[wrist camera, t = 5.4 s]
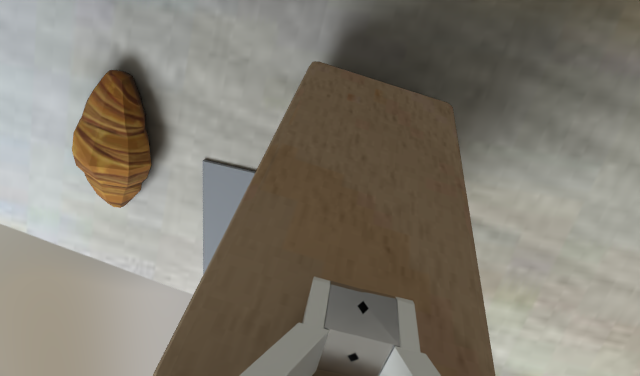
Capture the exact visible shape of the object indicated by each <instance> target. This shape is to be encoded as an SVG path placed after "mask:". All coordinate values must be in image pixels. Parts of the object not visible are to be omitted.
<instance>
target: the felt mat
mask: <svg viewBox="0 0 640 376" xmlns="http://www.w3.org/2000/svg"><path fill="white" fill-rule="evenodd" d="M254 174H255V171H251V170H247V169H242V168H238V167H234V166H229V165H225V164H221V163H217V162H212V161H208V160H203V274H204V273H205V271H206V269H207V267H208V265H209V263H210V261H211V259H212V257H213V255H214V253H215V251H216V249H217V247H218V245H219V243H220V241H221V240H222V238H223V236H224V234H225V232H226V230H227V228H228V226H229V224H230V222H231V220H232V218H233V216H234V214H235V212H236V210H237V208H238V206H239V204H240V202H241V200H242V198H243V196H244V194H245V192H246V190H247V188H248V186H249V184H250V182H251V180H252V178H253V176H254Z"/></svg>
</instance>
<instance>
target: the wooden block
mask: <svg viewBox="0 0 640 376" xmlns="http://www.w3.org/2000/svg"><path fill="white" fill-rule="evenodd" d="M314 277H318V278H322V279H325V280H329V281H334V282H338V283H341V284H345V285H349V286H352V287H356V288H360V289H365V290H370V291H374V292H378V293H383V294H387V295H391V296H395V297H399V298H403V299H408V300H412V301H413V302H414V304H415V312H416V320H417V328H418V336H419V344H420V352H421V353H424V354H426V355H427V356H428V358H429V359H430V361H431V362H432V363H433V365H434V366H435V368H436V369H437V371H438V372H439V373H440V375H441V376H495V370H494V364H493V358H492V351H491V345H490V339H489V333H488V326H487V320H486V314H485V307H484V301H483V295H482V289H481V282H480V276H479V270H478V263H477V257H476V251H475V244H474V238H473V232H472V226H471V219H470V213H469V207H468V200H467V194H466V188H465V182H464V175H463V169H462V163H461V156H460V150H459V144H458V137H457V131H456V125H455V119H454V112H453V107H452V106H451V105H450V104H449V103H447V102H443V101H440V100H437V99H434V98H431V97H428V96H425V95H421V94H418V93H415V92H412V91H409V90H406V89H403V88H400V87H396V86H393V85H390V84H387V83H384V82H381V81H378V80H375V79H371V78H368V77H365V76H362V75H359V74H356V73H353V72H350V71H346V70H343V69H340V68H337V67H334V66H331V65H328V64H324V63H321V62H312V63H311V65H310V66H309V68H308V70H307V72H306V74H305V76H304V78H303V80H302V82H301V84H300V86H299V87H298V89H297V91H296V93H295V95H294V97H293V99H292V101H291V103H290V105H289V107H288V109H287V111H286V113H285V115H284V117H283V119H282V121H281V123H280V125H279V127H278V129H277V131H276V133H275V135H274V137H273V139H272V141H271V143H270V145H269V147H268V149H267V151H266V153H265V155H264V157H263V159H262V161H261V163H260V164H259V166H258V168H257V170H256V172H255V174H254V176H253V178H252V180H251V182H250V184H249V186H248V188H247V190H246V192H245V194H244V196H243V198H242V200H241V202H240V204H239V206H238V208H237V210H236V212H235V214H234V216H233V218H232V220H231V222H230V224H229V226H228V228H227V230H226V232H225V234H224V236H223V238H222V240H221V241H220V243H219V245H218V247H217V249H216V251H215V253H214V255H213V257H212V259H211V261H210V263H209V265H208V267H207V269H206V271H205V273H204V275H203V277H202V279H201V281H200V283H199V285H198V287H197V289H196V291H195V293H194V295H193V297H192V299H191V301H190V303H189V305H188V307H187V309H186V311H185V313H184V315H183V317H182V318H181V320H180V322H179V325H178V327H177V328H176V330H175V332H174V335H173V336H172V338H171V340H170V342H169V344H168V346H167V348H166V350H165V352H164V355H163V356H162V358H161V360H160V362H159V364H158V366H157V368H156V370H155V372H154V374H153V376H239V375H241V374H242V373H243V372H244V371H245V370H246V369H247V368H248V367H249V366H251V365H252V364H253V363H254V362H255V361H256V360H257V359H258V358H260V357H261V356H262V355H263V354H264V353H265V352H266V351H267V350H268V349H270V348H271V347H272V346H273V345H274V344H275V343H276V342H277V341H279V340H280V339H281V338H282V337H283V336H284V335H285V334H286V333H287V332H289V331H290V330H291V329H292V328H293V327H294V326H295V325H296V324H297V323H302V321H303V316H304V312H305V308H306V304H307V300H308V297H309V293H310V289H311V285H312V281H313V278H314ZM312 376H346V375H342V374H337V373H333V372H328V371H323V370H319V369H317V370H316V372H315V373H314V374H313V375H312Z"/></svg>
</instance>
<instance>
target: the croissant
mask: <svg viewBox="0 0 640 376" xmlns="http://www.w3.org/2000/svg"><path fill="white" fill-rule="evenodd" d="M145 117H146V115H145V111H144V108H143V105H142V101H141V98H140V94H139V91H138V89H137V86H136V84H135V81H134V79H133V76H131V75H130V74H128V73H127V72H124V71H118V70H110V71H109V72H107V73H106V74H105V75H104V77H103V78H102V79H101V81H100V82H99V83H98V85H97V86H96V87H95V89H94V90H93V92H92V93H91V95H90V97H89V98H88V100H87V102H86V105H85V108H84V111H83V115H82V118H81V119H80V120H79V123H78V125H77V127H76V129H75V131H74V136H73V146H72V152H73V155H74V159H75V163H76V166H78V167H79V168H80V169H81V170H82V171H83V172H84V173H85V176H86V178H87V180H88V181H89V183H90V184H91V186H92V187H93V189H94V190H95V191H96V193H97V194H98V195H99V196H100V197H101V198H102V199H103V200H105V201H106V202H107V203H108V204H110V205H112V206H113V207H120V208H121V207H123V206H125V205H126V204H127V203H128V202H129V201H130V200H131V199H132V198H133V197H134V196H135V195H136V194H137V193H138V192H139V191H140V190H141V185H142V182H143V181H144V180H145V179H146V178H147V176H148V173H149V170H150V167H151V157H150V148H149V140H148V134H147V130H146V127H145Z"/></svg>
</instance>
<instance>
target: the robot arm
mask: <svg viewBox="0 0 640 376" xmlns="http://www.w3.org/2000/svg"><path fill="white" fill-rule="evenodd" d="M317 369H319V370H323V371H328V372H333V373H337V374H342V375H346V376H441V375H440V373H439V372H438V371H437V369H436V368H435V366H434V365H433V363H432V362H431V361H430V359H429V358H428V356H427V355H426V354H424V353H421V352H420V344H419V336H418V328H417V320H416V312H415V304H414V302H413V301H412V300H408V299H403V298H399V297H395V296H391V295H387V294H383V293H378V292H374V291H370V290H365V289H360V288H356V287H352V286H349V285H345V284H341V283H338V282H334V281H329V280H325V279H322V278H318V277H314V278H313V281H312V285H311V289H310V293H309V297H308V300H307V304H306V308H305V312H304V316H303V321H302V323H297V324H296V325H295V326H294V327H293V328H292V329H291V330H290V331H289V332H287V333H286V334H285V335H284V336H283V337H282V338H281V339H280V340H279V341H277V342H276V343H275V344H274V345H273V346H272V347H271V348H270V349H268V350H267V351H266V352H265V353H264V354H263V355H262V356H261V357H260V358H258V359H257V360H256V361H255V362H254V363H253V364H252V365H251V366H249V367H248V368H247V369H246V370H245V371H244V372H243V373H242V374H241V375H239V376H312V375H313V374H314V373H315V372H316V370H317Z"/></svg>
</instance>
